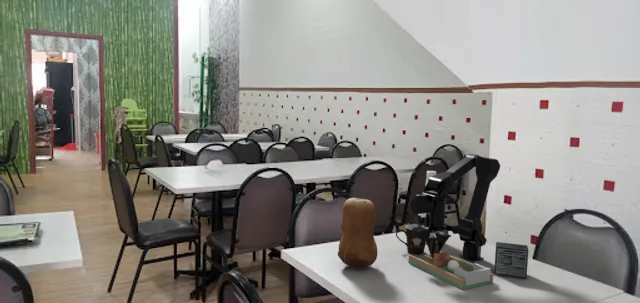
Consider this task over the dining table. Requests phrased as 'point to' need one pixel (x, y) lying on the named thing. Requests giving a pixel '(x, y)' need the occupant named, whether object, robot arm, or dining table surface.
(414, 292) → the dining table surface
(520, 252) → the small box
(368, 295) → the dining table surface
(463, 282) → the tray
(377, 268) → the dining table surface
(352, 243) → the butternut squash
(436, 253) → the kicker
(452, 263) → the ball
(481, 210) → the robot arm
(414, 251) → the coffee mug
